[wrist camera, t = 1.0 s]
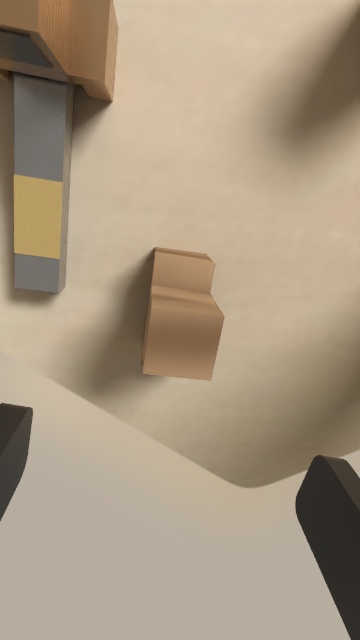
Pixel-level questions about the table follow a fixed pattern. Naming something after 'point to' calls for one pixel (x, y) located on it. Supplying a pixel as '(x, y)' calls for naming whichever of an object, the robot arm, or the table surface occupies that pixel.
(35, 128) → the rail
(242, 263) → the table surface
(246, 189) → the table surface
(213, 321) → the tan stepped block
